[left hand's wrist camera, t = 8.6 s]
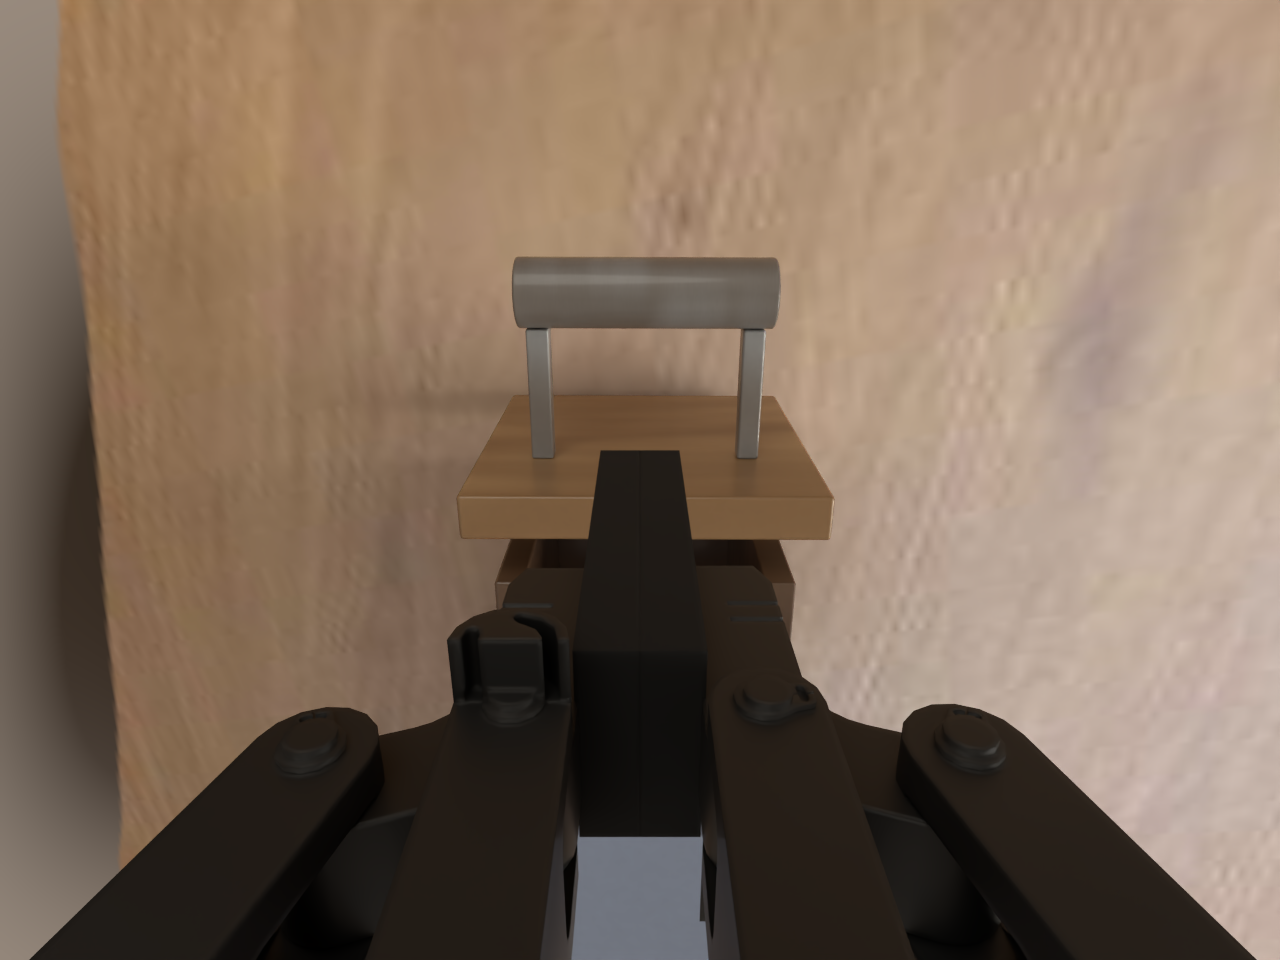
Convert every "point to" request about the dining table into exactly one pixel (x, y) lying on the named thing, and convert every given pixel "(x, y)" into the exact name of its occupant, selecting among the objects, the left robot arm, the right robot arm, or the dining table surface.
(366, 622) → the dining table surface
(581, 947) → the cabinet
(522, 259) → the drawer
